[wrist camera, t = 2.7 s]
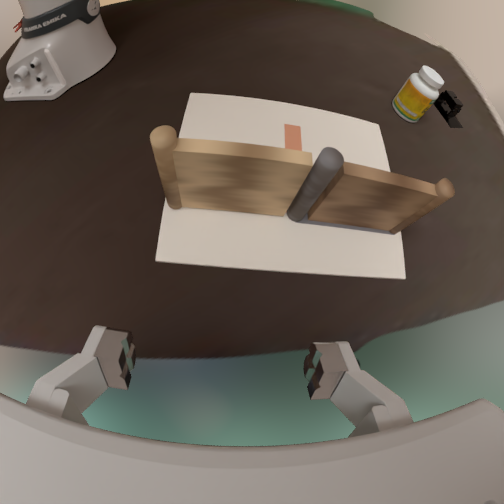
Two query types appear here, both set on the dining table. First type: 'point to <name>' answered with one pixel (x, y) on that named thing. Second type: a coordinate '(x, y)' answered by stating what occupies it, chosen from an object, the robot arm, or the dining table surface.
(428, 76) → the supplement bottle
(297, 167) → the folding fence section
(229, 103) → the card
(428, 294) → the dining table surface
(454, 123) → the black blocky piece
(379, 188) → the fixed fence section
